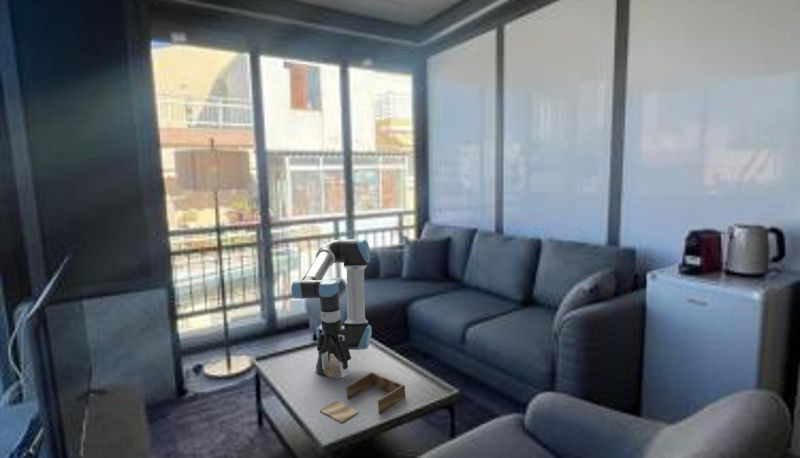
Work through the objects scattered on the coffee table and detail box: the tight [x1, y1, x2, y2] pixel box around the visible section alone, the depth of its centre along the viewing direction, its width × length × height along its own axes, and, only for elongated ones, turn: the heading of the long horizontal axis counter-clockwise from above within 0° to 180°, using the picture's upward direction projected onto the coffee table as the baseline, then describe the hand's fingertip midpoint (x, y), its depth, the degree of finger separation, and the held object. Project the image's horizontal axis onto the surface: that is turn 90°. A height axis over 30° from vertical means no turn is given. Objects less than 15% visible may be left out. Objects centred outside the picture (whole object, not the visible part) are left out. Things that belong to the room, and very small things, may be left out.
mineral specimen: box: [324, 354, 342, 379], centre depth 179 cm, size 13×7×6 cm, turn 28°
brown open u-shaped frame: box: [346, 371, 406, 415], centre depth 190 cm, size 20×16×6 cm
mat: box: [319, 400, 360, 424], centre depth 181 cm, size 14×9×1 cm, turn 49°
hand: (334, 371), depth 178 cm, fingers closed on mineral specimen, 11 cm apart
